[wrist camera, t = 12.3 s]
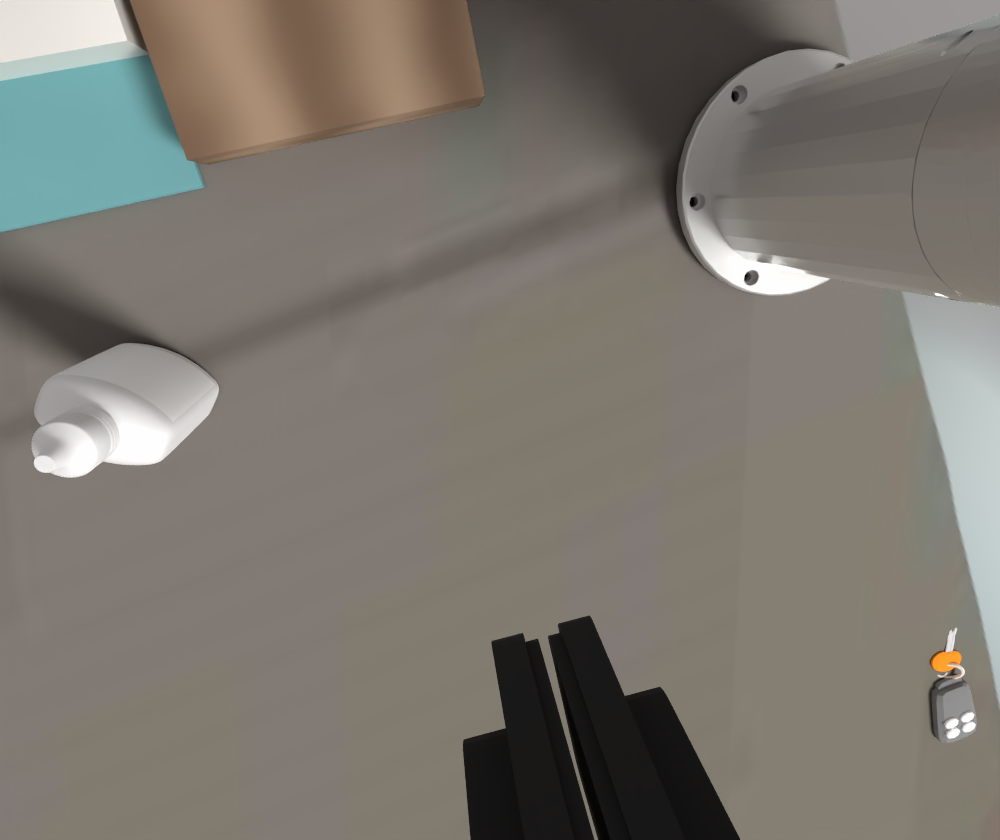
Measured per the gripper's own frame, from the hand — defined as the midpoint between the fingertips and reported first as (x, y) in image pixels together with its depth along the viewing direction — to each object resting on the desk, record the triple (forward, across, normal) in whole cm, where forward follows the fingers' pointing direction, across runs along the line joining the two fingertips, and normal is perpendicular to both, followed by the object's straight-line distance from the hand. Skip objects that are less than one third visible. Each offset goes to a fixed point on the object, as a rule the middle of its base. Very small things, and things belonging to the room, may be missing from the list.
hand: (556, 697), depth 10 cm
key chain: (+28, -32, +35) cm, 55 cm away
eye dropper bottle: (+27, +16, -2) cm, 32 cm away
